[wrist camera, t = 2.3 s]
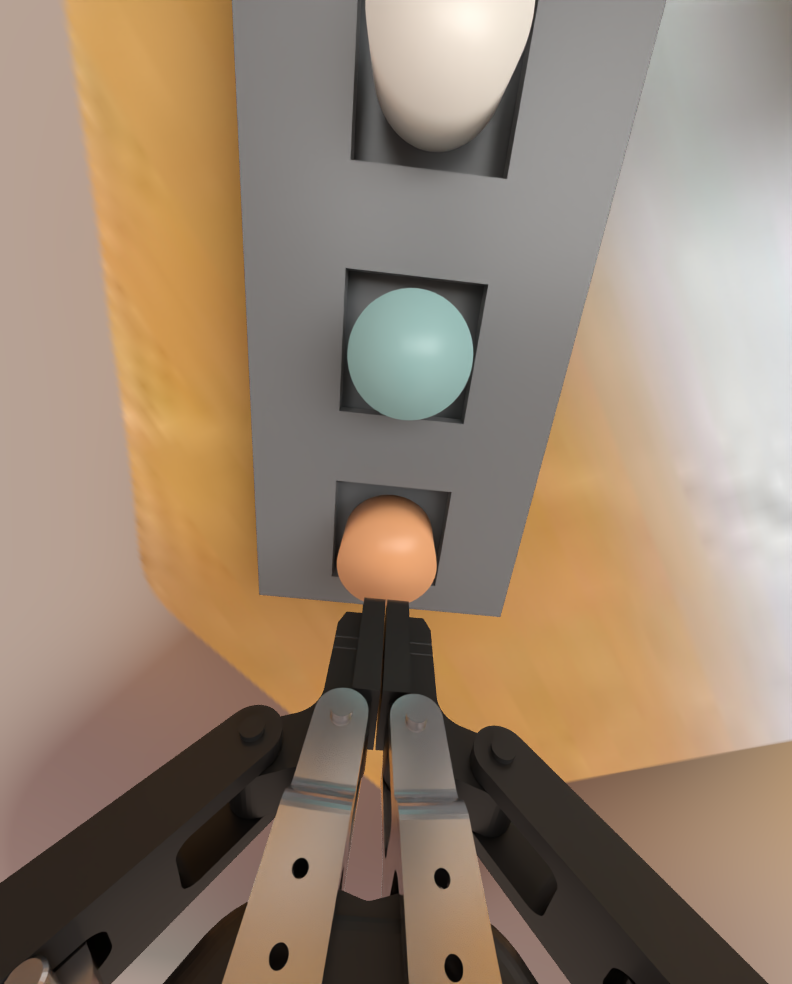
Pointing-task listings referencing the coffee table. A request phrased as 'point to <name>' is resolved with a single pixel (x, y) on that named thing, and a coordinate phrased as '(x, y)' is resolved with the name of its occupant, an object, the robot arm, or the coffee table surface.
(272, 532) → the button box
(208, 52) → the coffee table surface
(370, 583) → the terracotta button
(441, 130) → the cream button
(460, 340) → the teal button
